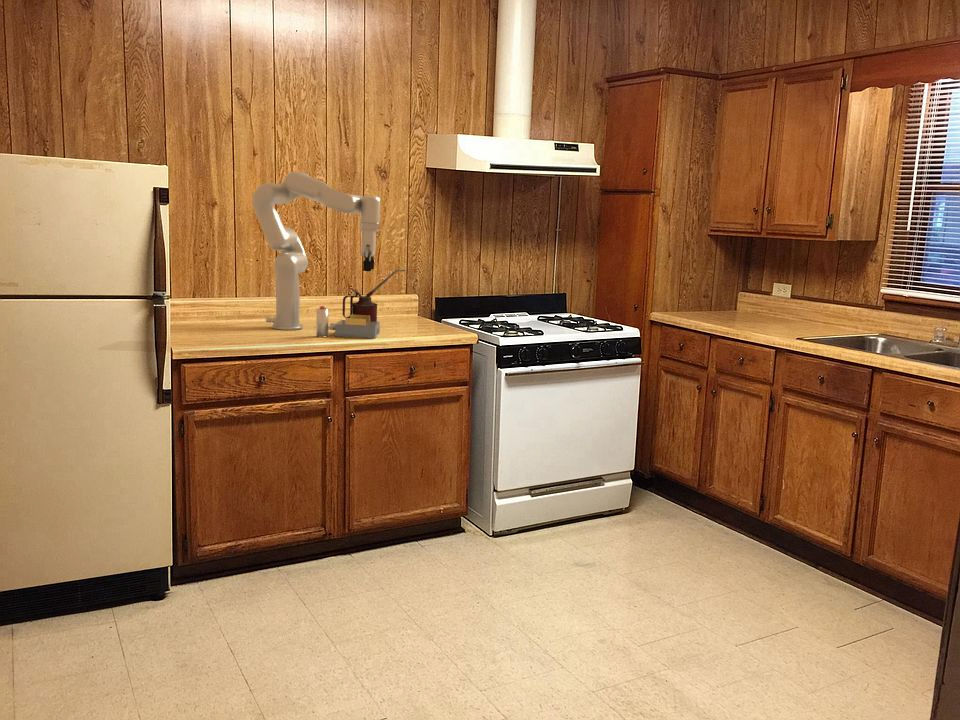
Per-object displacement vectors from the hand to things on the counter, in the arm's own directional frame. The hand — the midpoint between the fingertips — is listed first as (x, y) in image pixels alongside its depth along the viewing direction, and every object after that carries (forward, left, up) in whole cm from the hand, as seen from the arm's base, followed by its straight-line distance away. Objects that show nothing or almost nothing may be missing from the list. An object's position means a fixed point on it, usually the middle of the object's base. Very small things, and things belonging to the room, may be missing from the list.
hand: (368, 270), depth 340 cm
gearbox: (-5, -3, -26) cm, 27 cm away
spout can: (-16, -10, -26) cm, 33 cm away
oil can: (0, +23, -27) cm, 35 cm away
